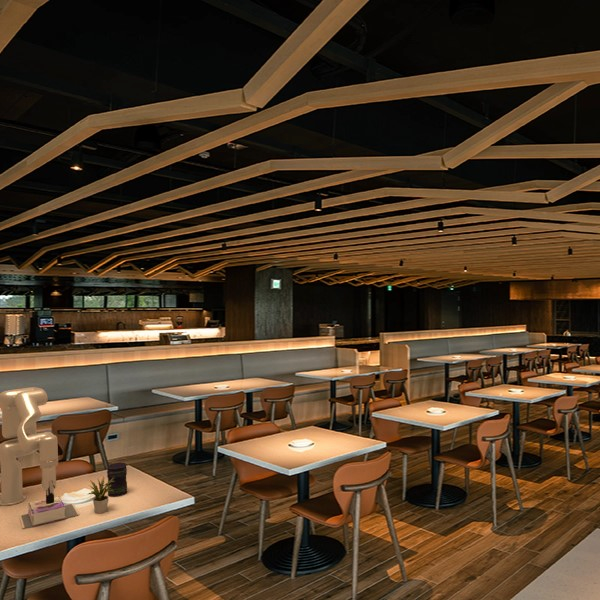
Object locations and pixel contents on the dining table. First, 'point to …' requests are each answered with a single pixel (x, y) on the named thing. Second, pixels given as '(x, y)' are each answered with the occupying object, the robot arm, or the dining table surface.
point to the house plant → (100, 496)
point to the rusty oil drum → (117, 479)
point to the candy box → (46, 511)
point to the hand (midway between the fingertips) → (50, 502)
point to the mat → (69, 512)
